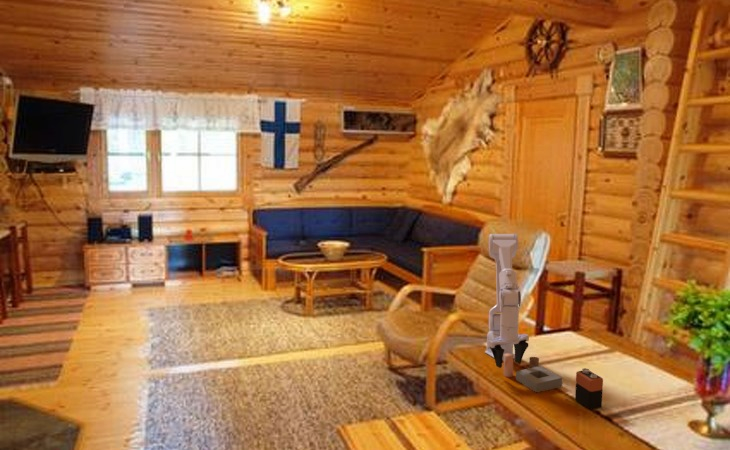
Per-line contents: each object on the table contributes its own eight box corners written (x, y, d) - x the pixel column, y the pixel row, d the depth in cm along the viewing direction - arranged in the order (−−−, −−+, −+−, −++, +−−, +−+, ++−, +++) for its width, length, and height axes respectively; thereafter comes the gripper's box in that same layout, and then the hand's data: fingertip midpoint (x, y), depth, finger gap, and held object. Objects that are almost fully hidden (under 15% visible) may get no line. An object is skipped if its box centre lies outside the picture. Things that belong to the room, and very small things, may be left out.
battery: (586, 397, 167) (588, 366, 165) (602, 408, 160) (604, 375, 159) (574, 400, 166) (575, 368, 164) (589, 410, 159) (591, 377, 158)
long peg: (501, 374, 184) (501, 354, 183) (509, 372, 185) (509, 352, 184) (507, 377, 181) (507, 357, 180) (514, 376, 183) (515, 355, 181)
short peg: (527, 368, 188) (527, 357, 188) (534, 367, 189) (534, 356, 189) (533, 372, 185) (533, 360, 185) (540, 370, 187) (540, 359, 186)
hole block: (515, 379, 180) (516, 371, 179) (540, 374, 184) (540, 365, 183) (536, 392, 171) (536, 383, 170) (562, 386, 174) (562, 377, 174)
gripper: (498, 332, 174) (497, 373, 176) (535, 325, 180) (534, 365, 182) (485, 325, 181) (484, 365, 183) (521, 319, 186) (520, 357, 188)
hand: (508, 364), depth 183 cm, fingers open, 7 cm apart
